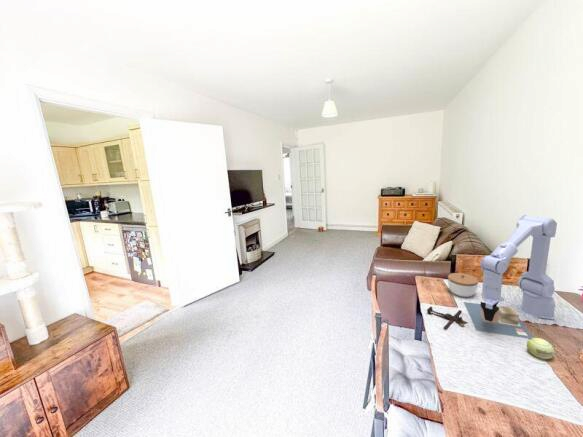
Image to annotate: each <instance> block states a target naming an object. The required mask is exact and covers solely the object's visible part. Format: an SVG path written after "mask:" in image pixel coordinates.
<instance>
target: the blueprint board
mask: <svg viewBox="0 0 583 437" xmlns="http://www.w3.org/2000/svg"><path fill="white" fill-rule="evenodd" d="M463 304H464V306H465V308H466V311H467V313H468V315H469V317H470V319H471V321H472V324H473V326H474V329H475V330H476V331H479V332H486V333H489V334H490V333H492V334H497V335H503V336H510V337H514V338H515V337H517V338H522V339H527V340H528V339H529V340H530V339H532V338H535V337H534V336H533V334H532V333H531V332H530V330H529V329H528V328H527V327H526V325H525V324H524V323H523V321H522V320H521V318H519V322H518V325H515V324H508V323H501V322H500V320H498V323H492V322H485V321H484V320H483V318H482V316H481V305H480V303H477V302H476V303H475V302H468V301H463ZM497 306H498V305H497ZM497 306H496V307H497Z"/></svg>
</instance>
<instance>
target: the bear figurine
mask: <svg viewBox="0 0 583 437" xmlns="http://www.w3.org/2000/svg"><path fill="white" fill-rule="evenodd" d="M426 311H427V314H428V315H431V316H436V317H437V318H438V317H439V318H441V319H443V320H446V321H447V323H446V324H445V326H443V329H444V330H447V329H448V328H449V327H450V326H451V325H452V324H453V323H455V322H456V324H457V325H459V326H461V327H465V324H467V320H463V317H462V316H460V315H461V313H462V310H460V309H459V310H458V311H457V312H455V314H454V315H453V314H450V313H449V312H448V313H441V312H438V311H435V310H433V307H432V306H429V307H428V308H427V309H426Z"/></svg>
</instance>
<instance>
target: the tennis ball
mask: <svg viewBox="0 0 583 437" xmlns="http://www.w3.org/2000/svg"><path fill="white" fill-rule="evenodd" d="M526 342H527V343H526V348H527V350H528V352H529V353H530V354H532V356H534V357H536V358H538V359H541V360H549V359H552V358H553V357H554V355H555V348H554V346H553V345H552V343H550V342H549V341H547V340H546V339H543V338H541V337H534V338H532V339H529V340H528V341H526Z"/></svg>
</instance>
